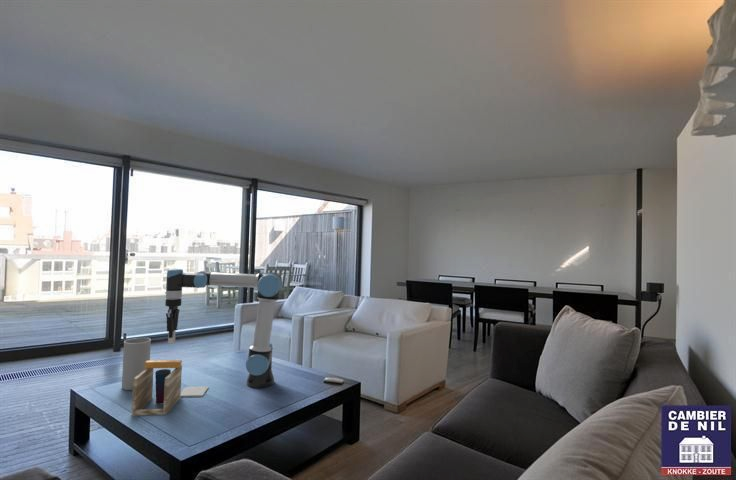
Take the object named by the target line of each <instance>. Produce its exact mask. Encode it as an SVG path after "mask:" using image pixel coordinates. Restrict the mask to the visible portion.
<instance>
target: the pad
mask: <svg viewBox="0 0 736 480" xmlns="http://www.w3.org/2000/svg"><path fill="white" fill-rule="evenodd" d="M182 389H183V390H181V395H180V398H201V397H202V398H203V397H204V395H205V394H206V392H207V391H208V390H209V386H185V387H184V388H182Z"/></svg>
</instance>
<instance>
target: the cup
mask: <svg viewBox="0 0 736 480" xmlns="http://www.w3.org/2000/svg"><path fill="white" fill-rule="evenodd" d="M171 372H172V370H171V369H170V368H160V369H158V370H155V372H154V373H155V375H154V377H155V403H156V404H164V385H165V378H166V377H167V376H168V375H169V374H170V373H171Z"/></svg>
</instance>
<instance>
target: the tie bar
mask: <svg viewBox="0 0 736 480" xmlns="http://www.w3.org/2000/svg"><path fill="white" fill-rule="evenodd" d="M181 365H182V360H181V359H180V360H179V359H178V360H177V359H175V360H173V359H166V360H165V359H163V360H161V359H160V360H159V359H158V360H155V359H154V360H153V359H150V360H148V361H146V362H145V368H154V369H175V368H180V367H181Z"/></svg>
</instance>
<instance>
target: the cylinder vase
mask: <svg viewBox="0 0 736 480" xmlns="http://www.w3.org/2000/svg"><path fill="white" fill-rule="evenodd" d="M151 343H152V339H151V338H150V337H134V338H128V339H125V340H124V341H123V352H122V353H123V358H122V374H121V376H122V377H121V378H122V379H121V389H123V390H125V391H133V379H134V378H135V377H136V376H137V375H139V374H140V373H141V372H143V371H144V370H145V369H147V368H145V362H146V361H148V360H151Z"/></svg>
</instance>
